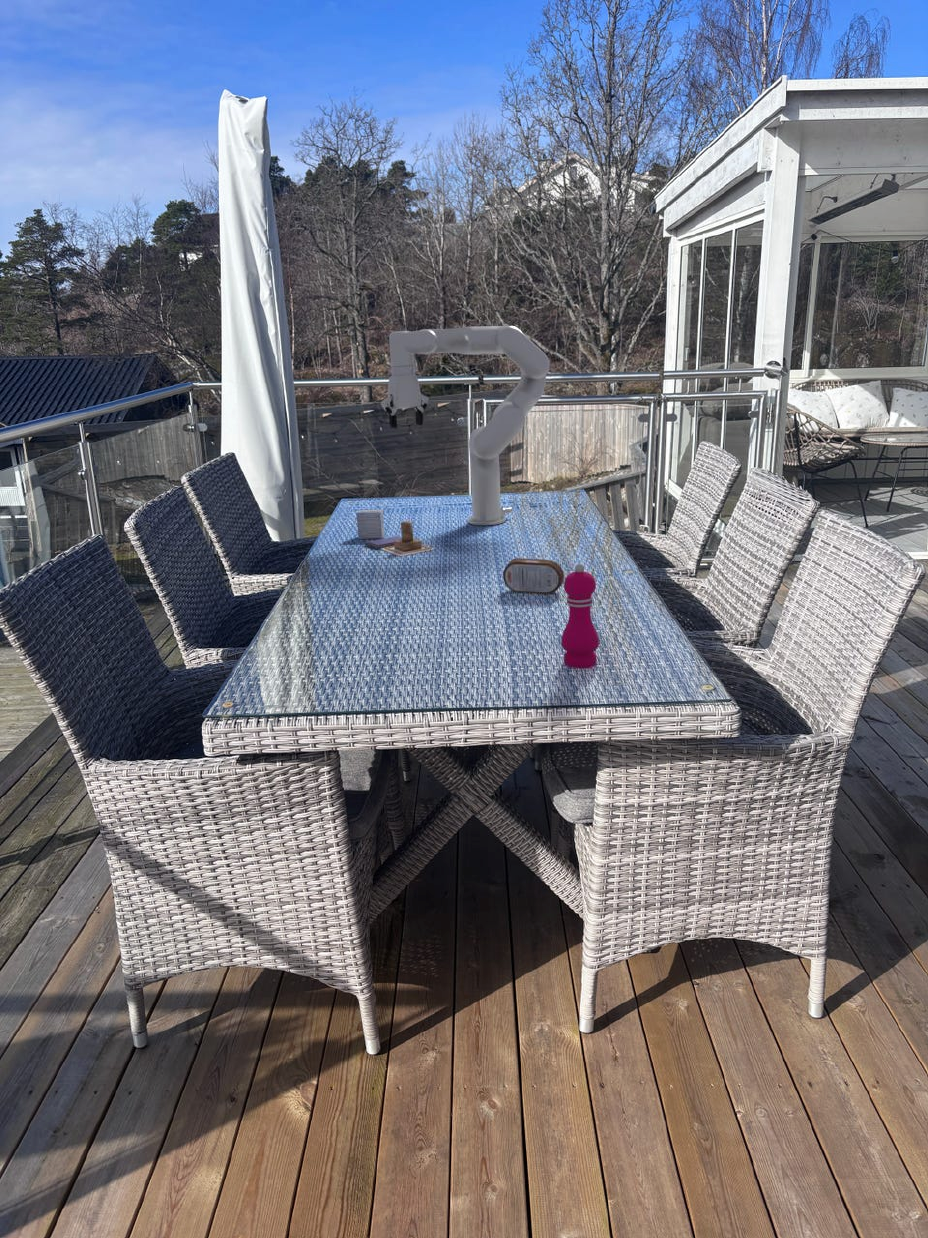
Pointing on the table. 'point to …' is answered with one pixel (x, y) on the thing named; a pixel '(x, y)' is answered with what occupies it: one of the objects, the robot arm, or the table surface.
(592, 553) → the table surface
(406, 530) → the stamp
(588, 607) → the pepper mill
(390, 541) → the ink pad
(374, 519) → the medicine box
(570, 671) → the table surface
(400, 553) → the cream card
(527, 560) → the tin
